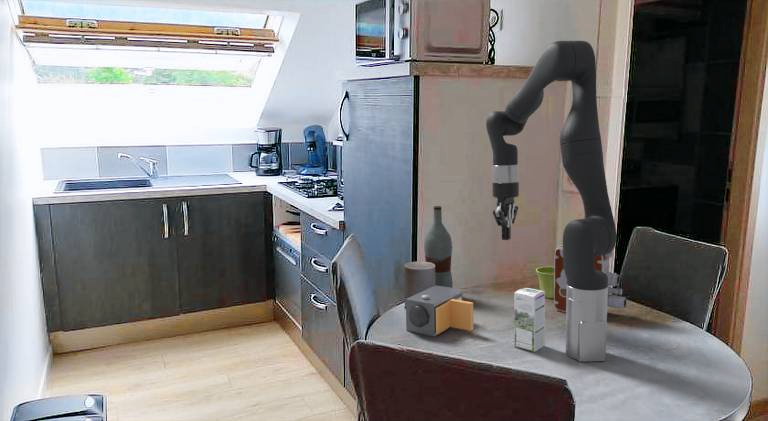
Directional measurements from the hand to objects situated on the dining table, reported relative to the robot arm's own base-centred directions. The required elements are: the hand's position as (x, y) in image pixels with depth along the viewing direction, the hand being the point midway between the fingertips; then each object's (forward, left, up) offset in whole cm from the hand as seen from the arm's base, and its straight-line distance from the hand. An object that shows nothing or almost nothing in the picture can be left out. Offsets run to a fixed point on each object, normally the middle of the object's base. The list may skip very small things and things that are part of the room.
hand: (506, 239), depth 166 cm
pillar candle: (+7, +25, -23) cm, 34 cm away
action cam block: (-9, +22, -22) cm, 33 cm away
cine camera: (-3, -24, -23) cm, 33 cm away
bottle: (+19, +18, -22) cm, 35 cm away
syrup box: (-27, 0, -22) cm, 35 cm away
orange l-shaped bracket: (-17, +18, -21) cm, 32 cm away
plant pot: (+15, -18, -23) cm, 33 cm away
